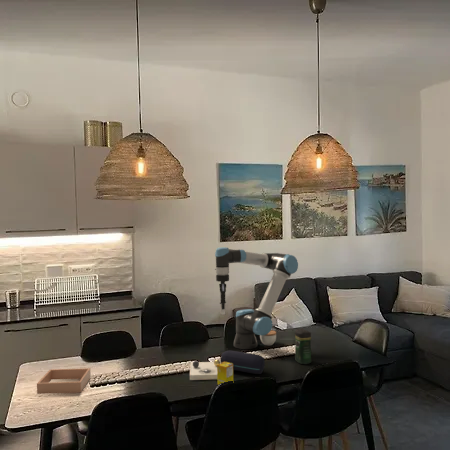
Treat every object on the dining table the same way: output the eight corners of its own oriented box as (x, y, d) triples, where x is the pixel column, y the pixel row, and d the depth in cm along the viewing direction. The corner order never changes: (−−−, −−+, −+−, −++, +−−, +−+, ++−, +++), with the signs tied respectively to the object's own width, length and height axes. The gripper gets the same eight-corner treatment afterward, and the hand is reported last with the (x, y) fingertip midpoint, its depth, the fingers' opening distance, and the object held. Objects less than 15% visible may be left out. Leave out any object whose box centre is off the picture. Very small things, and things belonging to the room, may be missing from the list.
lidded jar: (256, 342, 311) (256, 328, 311) (271, 340, 316) (270, 326, 315) (265, 347, 301) (264, 332, 301) (279, 344, 306) (279, 330, 306)
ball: (210, 375, 253) (210, 368, 253) (210, 377, 250) (210, 370, 250) (203, 374, 253) (203, 368, 253) (203, 377, 250) (203, 370, 250)
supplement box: (224, 382, 242) (224, 361, 242) (233, 385, 239) (233, 363, 238) (217, 386, 238) (216, 364, 237) (226, 388, 234) (226, 366, 234)
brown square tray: (90, 377, 252) (90, 368, 252) (80, 392, 232) (80, 382, 232) (50, 378, 251) (49, 369, 251) (37, 393, 231) (36, 383, 231)
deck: (190, 366, 266) (190, 362, 266) (222, 366, 267) (222, 361, 267) (189, 380, 246) (189, 375, 246) (224, 378, 247) (224, 374, 247)
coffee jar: (313, 363, 269) (313, 331, 268) (300, 365, 266) (300, 332, 266) (305, 358, 278) (305, 327, 277) (293, 360, 276) (292, 328, 275)
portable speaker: (268, 371, 257) (267, 353, 257) (260, 377, 248) (259, 358, 248) (227, 364, 270) (227, 347, 269) (218, 370, 261) (218, 352, 260)
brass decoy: (220, 364, 262) (219, 358, 262) (220, 366, 258) (220, 360, 258) (213, 365, 262) (213, 358, 261) (213, 367, 258) (213, 360, 258)
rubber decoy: (199, 366, 260) (198, 359, 260) (198, 368, 257) (198, 362, 257) (192, 366, 260) (192, 360, 260) (192, 368, 257) (192, 362, 256)
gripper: (215, 272, 283) (216, 312, 284) (216, 275, 270) (217, 317, 271) (228, 272, 284) (228, 311, 285) (229, 275, 271) (230, 316, 272)
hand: (223, 314), depth 278 cm, fingers closed
